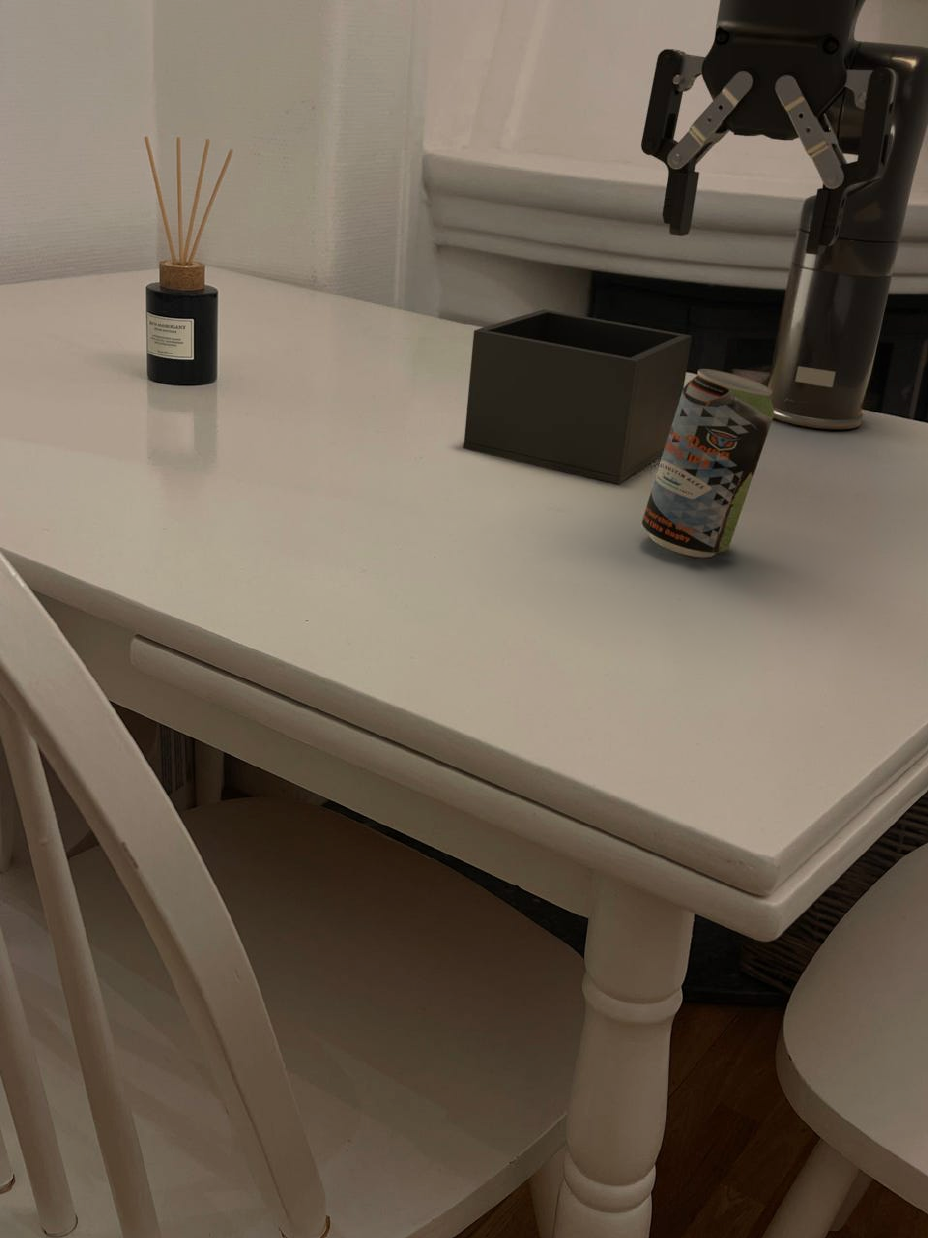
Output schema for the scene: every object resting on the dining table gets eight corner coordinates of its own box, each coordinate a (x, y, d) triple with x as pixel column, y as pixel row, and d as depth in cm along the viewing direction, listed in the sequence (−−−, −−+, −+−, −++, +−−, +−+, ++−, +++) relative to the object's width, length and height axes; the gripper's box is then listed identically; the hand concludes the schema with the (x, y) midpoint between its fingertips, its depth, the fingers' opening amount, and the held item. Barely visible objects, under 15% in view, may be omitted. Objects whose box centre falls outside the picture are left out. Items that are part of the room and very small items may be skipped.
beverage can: (622, 536, 86) (648, 362, 81) (711, 529, 89) (741, 361, 84) (671, 570, 81) (702, 387, 76) (764, 562, 84) (799, 385, 79)
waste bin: (531, 416, 114) (543, 308, 110) (674, 446, 108) (692, 335, 105) (462, 448, 102) (473, 329, 99) (618, 484, 97) (636, 360, 93)
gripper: (937, -41, 71) (874, 255, 77) (695, -53, 76) (655, 224, 83) (916, -57, 65) (849, 266, 71) (654, -70, 70) (614, 231, 77)
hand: (745, 243), depth 77 cm, fingers open, 8 cm apart
